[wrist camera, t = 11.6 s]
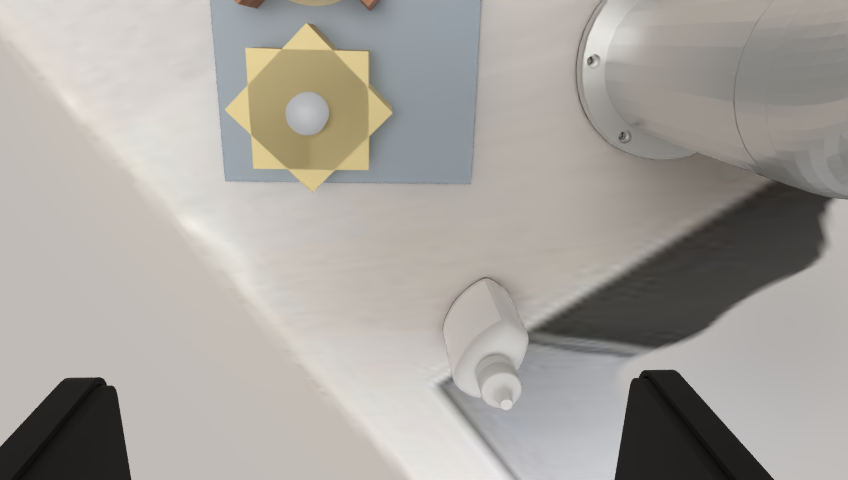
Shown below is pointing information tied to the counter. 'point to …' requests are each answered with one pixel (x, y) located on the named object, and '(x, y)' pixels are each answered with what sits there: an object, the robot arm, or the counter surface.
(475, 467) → the counter surface
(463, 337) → the eye dropper bottle
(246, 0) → the brown open boxy piece
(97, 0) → the counter surface
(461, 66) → the gear board
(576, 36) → the counter surface
